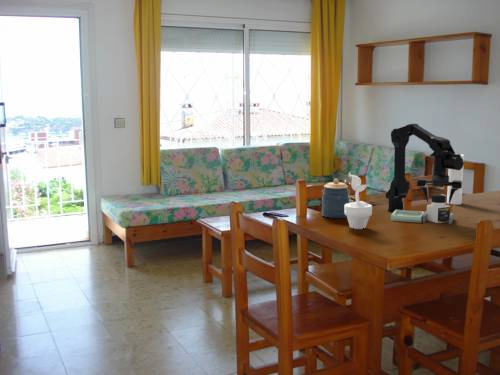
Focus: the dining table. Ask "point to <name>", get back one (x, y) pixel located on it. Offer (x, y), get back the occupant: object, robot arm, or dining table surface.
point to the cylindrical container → (458, 193)
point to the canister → (335, 199)
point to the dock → (449, 217)
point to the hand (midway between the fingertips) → (438, 202)
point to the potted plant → (357, 206)
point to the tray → (407, 216)
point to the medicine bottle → (438, 209)
